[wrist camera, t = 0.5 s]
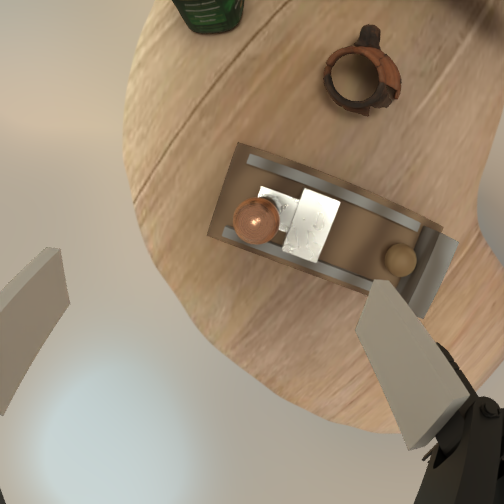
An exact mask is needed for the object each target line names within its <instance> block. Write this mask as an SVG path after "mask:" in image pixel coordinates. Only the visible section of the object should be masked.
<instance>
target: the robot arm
mask: <svg viewBox="0 0 504 504" xmlns="http://www.w3.org/2000/svg"><path fill="white" fill-rule="evenodd" d="M69 304H70V300H69V296H68V291H67V285H66V280H65V275H64V269H63V263H62V256H61V249H58V248H50V247H46V248H45V249H44V250H43V251H42V252H41V253H39V254H38V255H37V256H36V257H35V258H34V259H33V260H32V261H31V262H30V263H29V264H28V265H27V266H26V267H24V268H23V269H22V270H21V271H20V272H19V273H18V274H17V275H16V276H15V277H14V278H13V279H12V280H11V281H10V282H9V283H8V284H7V285H6V286H5V287H4V288H3V289H2V290H1V292H0V415H2V416H3V415H4V413H5V411H6V409H7V407H8V406H9V404H10V401H11V400H12V398H13V396H14V394H15V392H16V390H17V389H18V387H19V385H20V383H21V381H22V379H23V378H24V376H25V374H26V372H27V371H28V369H29V367H30V366H31V364H32V362H33V360H34V359H35V357H36V355H37V354H38V352H39V350H40V349H41V347H42V345H43V344H44V342H45V341H46V339H47V338H48V336H49V335H50V333H51V332H52V330H53V328H54V327H55V325H56V324H57V322H58V321H59V319H60V318H61V316H62V315H63V313H64V312H65V311H66V309H67V308H68V306H69ZM355 331H356V334H357V336H358V338H359V340H360V342H361V344H362V346H363V348H364V350H365V352H366V354H367V357H368V359H369V361H370V363H371V365H372V367H373V370H374V372H375V374H376V376H377V378H378V380H379V383H380V385H381V387H382V389H383V392H384V394H385V396H386V398H387V401H388V403H389V405H390V408H391V410H392V412H393V415H394V417H395V419H396V422H397V424H398V426H399V429H400V431H401V433H402V436H403V438H404V441H405V443H406V446H407V448H408V450H413V449H417V448H421V447H424V446H426V445H427V444H428V443H429V442H430V441H431V440H432V439H433V438H434V437H436V439H437V441H438V443H437V444H436V445H435V446H434V447H433V448H432V449H431V450H430V451H429V452H428V453H427V454H426V455H425V456H424V457H423V459H422V460H423V461H425V460H426V459H427V458H428V457H429V456H430V455H431V457H430V460H429V461H428V463H429V464H428V466H427V469H426V472H425V475H424V478H423V481H422V484H421V486H420V489H419V491H418V494H417V497H416V499H415V502H414V504H504V408H500V407H499V405H498V404H497V403H496V402H495V401H494V400H492V399H491V398H488V397H484V396H483V397H478V395H477V394H476V392H475V391H474V389H473V388H472V386H471V384H470V383H469V381H468V380H467V378H466V377H465V375H464V374H463V372H462V371H461V370H459V366H458V365H457V363H456V362H454V359H453V358H452V356H451V355H450V353H449V352H448V351H447V350H446V349H445V348H444V347H443V346H441V345H440V344H439V343H438V342H437V343H435V341H434V340H433V338H432V337H431V336H430V334H429V333H428V331H427V330H426V329H425V327H424V326H423V325H422V323H421V322H420V320H419V319H418V318H417V316H416V315H415V314H414V312H413V311H412V310H411V308H410V307H409V306H408V304H407V303H406V302H405V300H404V299H403V298H402V297H401V295H400V294H399V293H398V291H397V290H396V289H395V288H394V286H393V285H392V284H391V283H390V281H389V280H376V279H374V281H373V284H372V287H371V289H370V292H369V295H368V298H367V300H366V303H365V306H364V309H363V311H362V314H361V316H360V319H359V321H358V324H357V327H356V329H355ZM0 504H6V503H5V500H4V498H3V495H2V492H1V489H0Z"/></svg>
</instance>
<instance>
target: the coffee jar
mask: <svg viewBox="0 0 504 504" xmlns="http://www.w3.org/2000/svg"><path fill="white" fill-rule="evenodd" d="M172 1H173V3H174V4H175V6H176V8H177V9H178V11H179V13H180V14H181V16H182V18H183V19H184V21H185V23H186V24H187V26H188V27H189V28H190V29H191V30H192V31H194V32H197V33H219V32H224V31H228V30H230V29H232V28H234V27H235V26H236V25H237V24H238V23H239V21H240V18H241V15H242V11H243V4H244V0H172Z"/></svg>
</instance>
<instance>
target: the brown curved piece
mask: <svg viewBox="0 0 504 504" xmlns="http://www.w3.org/2000/svg"><path fill="white" fill-rule="evenodd" d="M379 43H380V29H379V28H378V27H377V26H375V25H369V24H368V25H365V26H363V27H362V29H361V32H360V37H359V39H358V41H357V42H355V43H354V46H356V47H353V46H349V47H346V48H342V49H339V50H337V51H336V52H334V53H333V54H332V55H331V56H330V57H329V59H328V60H327V62H326V64H327V66H326V67H325V70H324V78H323V80H324V85H325V87H326V90H327V92H328V94H329V95H330V97H331V98H332V99H333V101H334V102H335V103H336V104H337V105H339V106H342V107H343V108H344V109H345V110H348V111H351V112H355V113H358V114H362V115H364V116H369V109H370V107H371V106H373V107H375V108H382V107H385V108H387V107H388V106H389V105H390V104H391V103H392V101H391V100H390V98H389V94H388V91H387V87H386V85H387V86H390V87H392V88H393V89H395V90H396V91H395V95H394V98H395V99H398V97H399V95H400V91H401V83H402V82H401V76H400V73H399V71H398V68H397V67H396V65H395V64H394V62H393V61H392V60H391V58H390V57H389V56H388V55H387V54H384V52H382V51H381V49H380V46H379ZM347 54H360V55H363V56H365V57H367V58H368V59H369V60H370V61H371V62H372V63H373V64H374V65H375V67H376V69H377V72H378V76H379V84H378V87H377V89H376V91H375V93H374V94H373V95H372V96H371V97H370V98H368V99H366V100H364V101H350V100H348V99H346V98H344V97H342V96H341V95H340V94H339V93H338V92H337V91H336V89H335V87H334V85H333V82H332V78H331V70H332V67H333V66H334V64H335V63H336V61H337V60H338V59H339V58H341V57H342V56H344V55H347Z"/></svg>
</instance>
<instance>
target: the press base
mask: <svg viewBox="0 0 504 504" xmlns="http://www.w3.org/2000/svg"><path fill="white" fill-rule="evenodd" d="M261 186H264V187H267V188H269V189H272V190H275V191H278V192H281V193H283V194H286V195H289V196H291V197H294V198H297V199H299V197H300V195H301V192H302V189H303V187H304V188H306V189H309V190H312V191H314V192H317V193H319V194H322V195H325V196H327V197H330V198H332V199H335V200H337V201H339V202H340V205H339V207H338V210H337V213H336V215H335V218H334V220H333V223H332V226H331V228H330V231H329V233H328V236H327V238H326V241H325V243H324V246H323V248H322V251H321V253H320V255H319V258H318V260H317V263H314V262H311V261H309V260H306V259H303V258H301V257H298V256H295V255H293V254H290V253H287V252H285V251H282V243H283V240H284V237H285V235H286V232H283V231H281V230H278V232H277V234H276V235H275V236H274V237H273V238H272V239H271V240H270V241H268V242H266V243H264V244H258V245H256V244H250V243H247V242H245V241H243V240H242V239H241V238H240V237H239V236H238V235H237V234H236V232H235V229H234V226H233V215H234V212H235V210H236V208H237V207H238V206H239V205H240V204H241V203H242V202H243V201H245V200H246V199H249V198H254V197H258V194H259V191H260V189H261ZM442 230H443V227H442V226H440V225H439V224H437V223H435V222H433V221H431V220H429V219H427V218H425V217H423V216H421V215H419V214H417V213H415V212H413V211H411V210H409V209H406V208H404V207H402V206H400V205H398V204H396V203H394V202H392V201H389V200H387V199H385V198H383V197H381V196H378V195H376V194H374V193H372V192H369V191H367V190H365V189H362V188H360V187H358V186H355V185H353V184H351V183H348V182H346V181H343V180H341V179H339V178H336V177H334V176H331V175H329V174H326V173H324V172H321V171H318V170H316V169H313V168H311V167H308V166H305V165H303V164H300V163H297V162H295V161H292V160H289V159H286V158H283V157H281V156H278V155H275V154H272V153H269V152H266V151H263V150H260V149H257V148H254V147H251V146H248V145H245V144H242V143H239V142H238V143H237V146H236V149H235V152H234V155H233V157H232V160H231V163H230V166H229V169H228V172H227V175H226V178H225V181H224V184H223V187H222V190H221V193H220V196H219V199H218V202H217V205H216V208H215V211H214V214H213V217H212V220H211V223H210V227H209V230H208V233H207V236H209V237H212V238H215V239H217V240H220V241H223V242H225V243H228V244H231V245H234V246H236V247H239V248H242V249H244V250H247V251H250V252H252V253H255V254H258V255H260V256H263V257H266V258H269V259H271V260H274V261H277V262H279V263H282V264H285V265H287V266H290V267H293V268H295V269H298V270H301V271H304V272H306V273H309V274H312V275H314V276H317V277H320V278H322V279H325V280H328V281H330V282H333V283H336V284H339V285H341V286H344V287H347V288H349V289H352V290H355V291H357V292H360V293H363V294H366V295H369V292H370V289H371V287H372V284H373V281H374V279H376V280H389V281H390V283H391V284H392V285H393V286H394V288H395V289H396V290H397V291H398V293H399V294H400V295H401V297H402V298H403V299H404V300H405V302H406V303H407V304H408V306H409V307H410V308H411V310H412V311H413V312H414V314H415V315H416V316H417V317H419V318H422V319H424V317H425V315H426V313H427V311H428V309H429V307H430V305H431V303H432V301H433V299H434V297H435V295H436V293H437V291H438V289H439V287H440V285H441V283H442V281H443V278H444V276H445V274H446V272H447V270H448V267H449V265H450V263H451V260H452V258H453V256H454V253H455V251H456V248H457V246H458V243H459V242H458V241H456V240H454V239H452V238H450V237H448V236H446V235H444V234H443V233H441V232H442Z"/></svg>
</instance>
